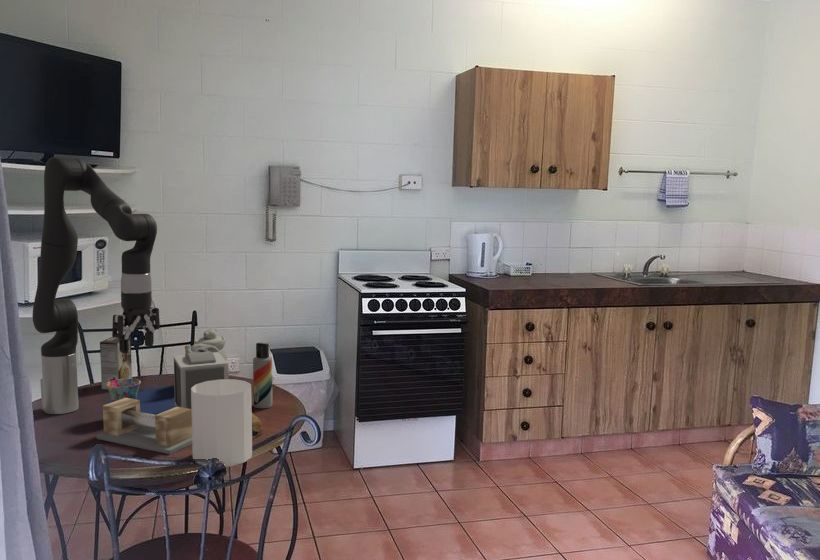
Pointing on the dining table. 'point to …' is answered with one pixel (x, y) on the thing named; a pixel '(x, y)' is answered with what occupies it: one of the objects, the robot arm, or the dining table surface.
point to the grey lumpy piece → (208, 344)
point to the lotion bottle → (262, 377)
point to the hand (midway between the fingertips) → (136, 349)
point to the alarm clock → (196, 373)
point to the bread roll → (256, 426)
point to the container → (222, 421)
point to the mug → (123, 389)
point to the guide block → (118, 416)
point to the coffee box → (114, 361)
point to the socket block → (173, 426)
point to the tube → (138, 419)
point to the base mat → (143, 440)
